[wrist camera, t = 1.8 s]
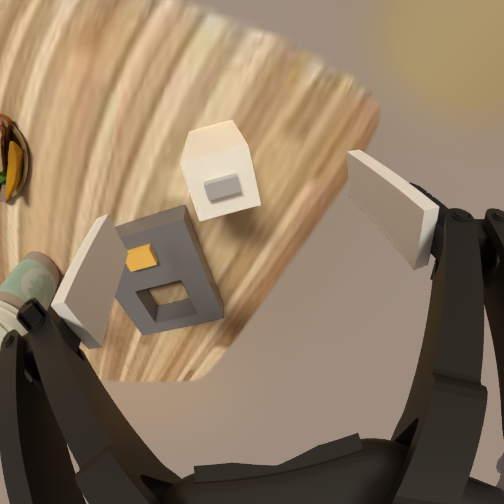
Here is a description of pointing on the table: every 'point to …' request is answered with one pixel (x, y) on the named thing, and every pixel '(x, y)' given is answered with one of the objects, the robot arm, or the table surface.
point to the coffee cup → (26, 289)
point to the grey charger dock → (166, 273)
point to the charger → (219, 171)
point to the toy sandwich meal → (11, 160)
